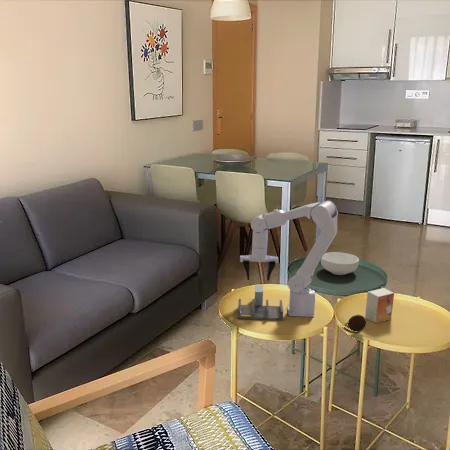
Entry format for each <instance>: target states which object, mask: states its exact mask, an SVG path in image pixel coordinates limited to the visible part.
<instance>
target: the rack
mask: <svg viewBox="0 0 450 450" xmlns="http://www.w3.org/2000/svg"><path fill="white" fill-rule="evenodd" d="M237 306H238V307H237V309H238V310H237V320H250V321H251V320H254V321H255V320H256V321H261V320H262V321H284V306H283V300H282V299H280V300H279V304H278V305H269V299H265V305H263V306H260V305H255V298H253V299H252V304H242V299H241V298H238V305H237Z"/></svg>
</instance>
